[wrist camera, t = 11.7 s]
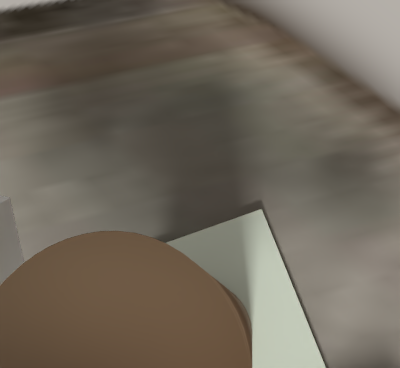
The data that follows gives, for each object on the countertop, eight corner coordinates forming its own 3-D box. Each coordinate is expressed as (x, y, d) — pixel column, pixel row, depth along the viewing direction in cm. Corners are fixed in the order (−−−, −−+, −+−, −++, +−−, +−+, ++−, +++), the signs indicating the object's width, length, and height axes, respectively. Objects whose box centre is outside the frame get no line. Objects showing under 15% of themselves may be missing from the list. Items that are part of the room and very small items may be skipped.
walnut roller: (145, 299, 17) (-58, 283, 6) (232, 269, 17) (194, 192, 6) (171, 400, 16) (-40, 641, 4) (267, 367, 15) (306, 526, 4)
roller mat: (96, 269, 18) (92, 268, 18) (261, 211, 18) (261, 208, 18) (140, 473, 15) (136, 478, 15) (339, 404, 15) (342, 408, 15)
